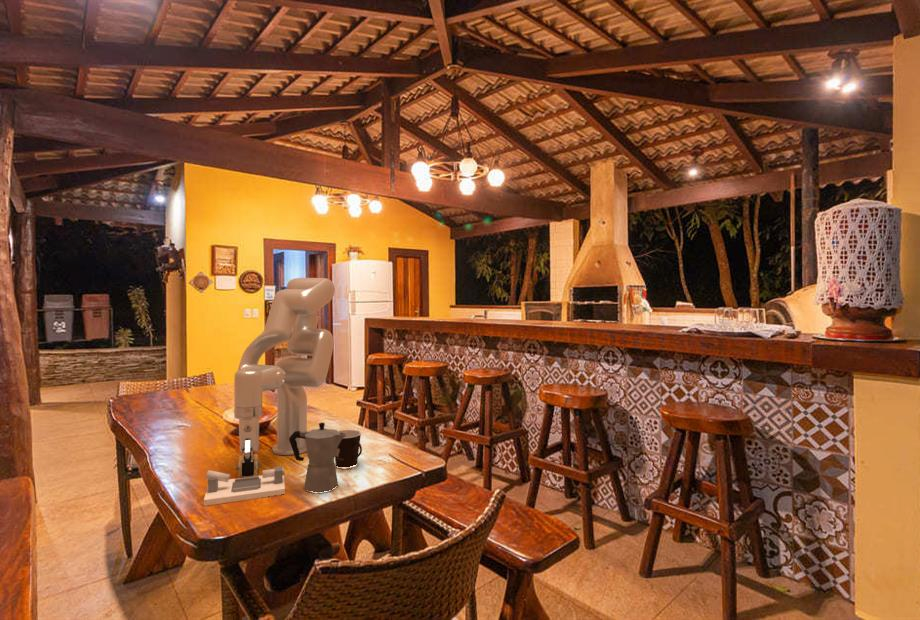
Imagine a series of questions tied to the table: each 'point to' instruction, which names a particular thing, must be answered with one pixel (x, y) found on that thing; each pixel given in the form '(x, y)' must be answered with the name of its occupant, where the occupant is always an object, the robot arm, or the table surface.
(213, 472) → the shaft frame
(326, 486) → the coffeepot
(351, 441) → the coffee mug
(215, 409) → the table surface
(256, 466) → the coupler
